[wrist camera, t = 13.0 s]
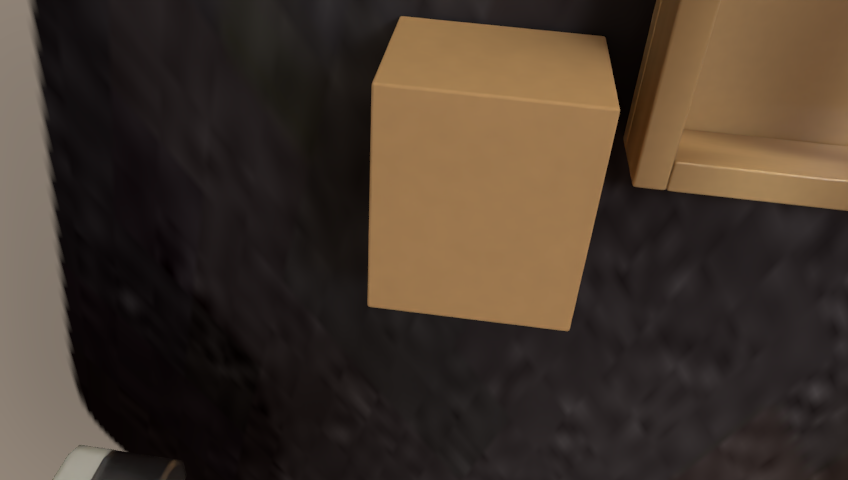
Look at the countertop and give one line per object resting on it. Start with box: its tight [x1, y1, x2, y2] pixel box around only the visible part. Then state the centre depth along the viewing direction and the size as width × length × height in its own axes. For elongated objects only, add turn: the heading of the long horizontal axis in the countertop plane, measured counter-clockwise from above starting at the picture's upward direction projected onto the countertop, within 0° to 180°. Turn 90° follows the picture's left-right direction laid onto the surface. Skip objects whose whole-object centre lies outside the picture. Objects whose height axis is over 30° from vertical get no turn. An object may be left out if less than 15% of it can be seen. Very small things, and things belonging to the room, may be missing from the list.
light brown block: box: [367, 16, 620, 331], centre depth 19 cm, size 5×6×4 cm
